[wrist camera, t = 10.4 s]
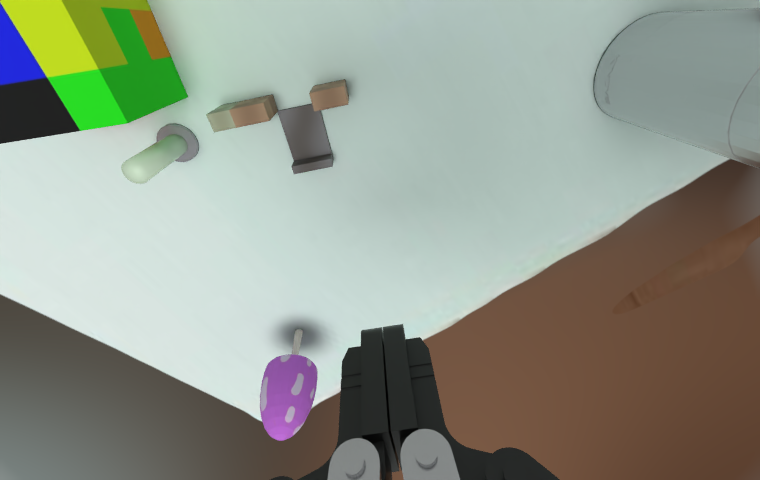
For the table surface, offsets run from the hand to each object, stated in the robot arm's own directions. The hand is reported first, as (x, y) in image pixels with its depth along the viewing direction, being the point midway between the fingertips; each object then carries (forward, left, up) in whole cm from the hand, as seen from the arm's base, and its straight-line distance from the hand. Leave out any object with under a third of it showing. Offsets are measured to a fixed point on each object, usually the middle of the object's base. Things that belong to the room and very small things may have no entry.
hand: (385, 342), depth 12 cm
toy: (+15, +26, -27) cm, 40 cm away
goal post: (+18, -3, -26) cm, 32 cm away
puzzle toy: (+20, -12, -27) cm, 36 cm away
